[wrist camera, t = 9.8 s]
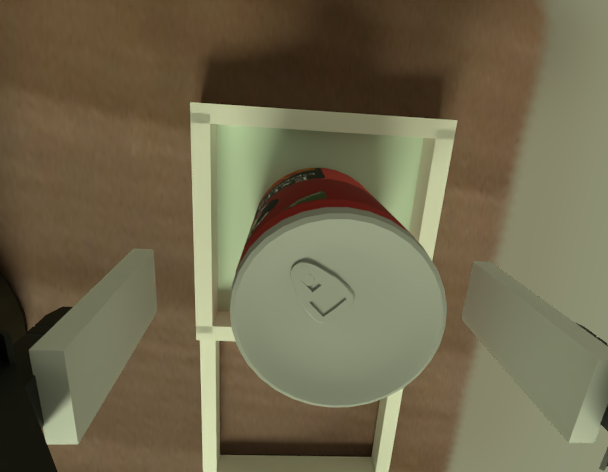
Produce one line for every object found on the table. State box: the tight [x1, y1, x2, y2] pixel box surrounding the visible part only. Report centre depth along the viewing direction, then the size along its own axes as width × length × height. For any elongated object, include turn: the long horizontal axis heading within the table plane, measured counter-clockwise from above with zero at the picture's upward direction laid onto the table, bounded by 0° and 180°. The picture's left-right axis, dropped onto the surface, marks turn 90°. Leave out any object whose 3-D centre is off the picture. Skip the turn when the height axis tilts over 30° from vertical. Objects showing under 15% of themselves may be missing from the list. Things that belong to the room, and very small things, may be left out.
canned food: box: [230, 168, 447, 407], centre depth 19 cm, size 8×8×11 cm
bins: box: [190, 102, 457, 472], centre depth 25 cm, size 27×14×2 cm, turn 176°
